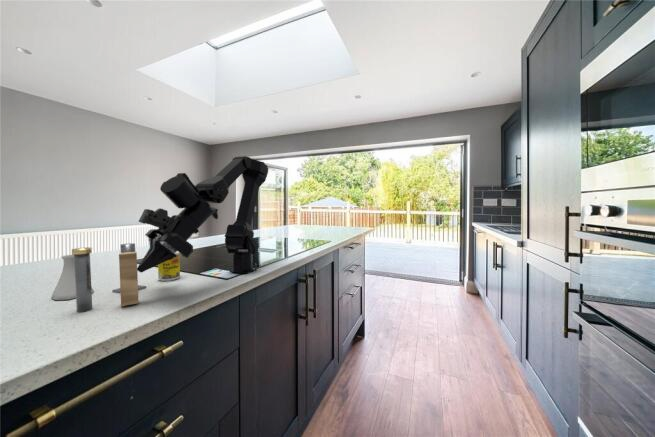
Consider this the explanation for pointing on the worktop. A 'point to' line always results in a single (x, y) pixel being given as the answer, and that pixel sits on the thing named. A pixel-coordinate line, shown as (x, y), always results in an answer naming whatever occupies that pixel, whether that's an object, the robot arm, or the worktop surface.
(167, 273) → the supplement bottle
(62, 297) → the flask
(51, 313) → the worktop surface
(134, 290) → the tan flat l-shaped piece
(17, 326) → the worktop surface
